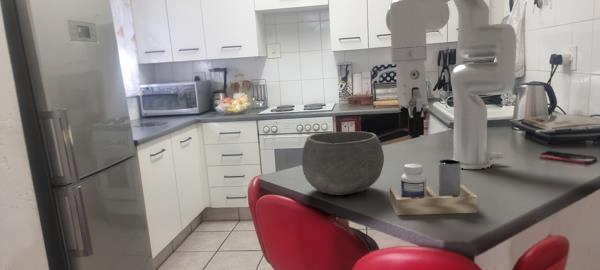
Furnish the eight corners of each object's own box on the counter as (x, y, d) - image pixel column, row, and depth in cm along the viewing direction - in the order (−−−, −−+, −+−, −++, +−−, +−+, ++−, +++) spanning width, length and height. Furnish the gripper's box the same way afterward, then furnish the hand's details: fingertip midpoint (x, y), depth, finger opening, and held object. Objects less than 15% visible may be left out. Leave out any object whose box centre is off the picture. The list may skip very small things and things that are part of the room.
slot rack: (462, 199, 94) (462, 183, 94) (477, 212, 85) (477, 195, 85) (389, 201, 95) (389, 186, 94) (397, 215, 86) (396, 198, 86)
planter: (435, 203, 92) (435, 159, 91) (454, 202, 92) (455, 158, 91) (443, 210, 88) (444, 164, 86) (463, 208, 88) (464, 163, 86)
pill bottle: (406, 202, 94) (405, 161, 93) (429, 205, 91) (429, 163, 90) (397, 209, 90) (397, 166, 88) (421, 212, 87) (421, 169, 85)
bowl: (385, 181, 112) (384, 129, 110) (383, 206, 92) (382, 142, 90) (311, 180, 117) (309, 130, 115) (294, 204, 97) (291, 143, 95)
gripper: (437, 54, 80) (438, 137, 83) (416, 54, 97) (418, 123, 100) (399, 57, 81) (402, 140, 84) (385, 57, 98) (388, 126, 101)
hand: (411, 131), depth 92 cm, fingers open, 9 cm apart
